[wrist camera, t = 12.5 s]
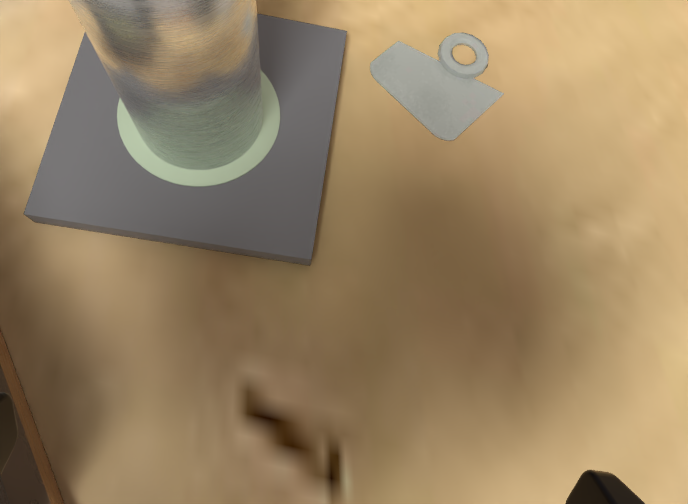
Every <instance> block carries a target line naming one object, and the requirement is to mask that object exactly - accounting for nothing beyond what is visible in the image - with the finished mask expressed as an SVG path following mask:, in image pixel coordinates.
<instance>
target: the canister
mask: <svg viewBox="0 0 688 504" xmlns="http://www.w3.org/2000/svg"><path fill="white" fill-rule="evenodd" d="M69 2H70V4H71V5H72V7H73V9H74V11H75V13H76V15H77V17H78V19H79V21H80V22H81V24H82V26H83V28H84V30H85V32H86V34H87V36H88V38H89V40H90V41H91V43H92V45H93V47H94V49H95V51H96V53H97V55H98V57H99V58H100V60H101V62H102V64H103V66H104V68H105V70H106V72H107V74H108V76H109V77H110V79H111V81H112V83H113V85H114V87H115V89H116V91H117V93H118V94H119V96H120V98H121V100H122V102H123V104H124V106H125V108H126V110H127V112H128V113H129V115H130V117H131V119H132V121H133V123H134V125H135V127H136V129H137V130H138V132H139V134H140V136H141V138H142V140H143V141H144V143H145V144H146V146H147V147H148V148H149V149H150V150H151V151H152V152H153V153H154V154H155V155H156V156H157V157H159V158H160V159H162V160H163V161H165V162H167V163H169V164H171V165H174V166H177V167H180V168H184V169H190V170H209V169H215V168H219V167H222V166H225V165H227V164H230V163H231V162H233V161H235V160H237V159H238V158H240V157H241V156H243V155H244V154H245V153H246V152H247V151H248V150H249V149H250V148H251V146H252V145H253V144H254V142H255V141H256V139H257V137H258V135H259V133H260V130H261V126H262V121H263V107H262V90H261V73H260V56H259V39H258V22H257V5H256V0H69Z"/></svg>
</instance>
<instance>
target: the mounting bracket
mask: <svg viewBox="0 0 688 504" xmlns="http://www.w3.org/2000/svg"><path fill="white" fill-rule="evenodd" d="M457 45H466V46H468V47H470V48H471V49H472V50H473V51H474V52H475V55H476V61H475V62H474V63H472V64H470V65H463V64H460V63H458V62H457V61H456V60H455V59H454V58H453V55H452V49H453V47H455V46H457ZM438 56H439V60H440V61H438V60H436V59H434V58H432V57H430V56H428V55H426V54H424V53H422V52H420V51H418V50H416V49H414V48H412V47H410V46H408V45H406V44H404V43H402V42H400V41H398V42H396V43H395V44H394V45H393V46H391V47H390V48H389V49H387V50H386V51H385V52H384V53H382V54H381V55H380V56H379V57H377V58H376V59H375V60H374V61H372V62H371V65H370V71H371V74H372V76H373V78H374V79H375V80H376V81H377V82H378V83H379V84H380V85H381V86H382V87H383V88H384V89H385V90H386V91H387V92H388V93H389V94H391V95H392V96H393V97H394V98H395V99H396V100H397V101H398V102H399V103H400V104H401V105H402V106H403V107H404V108H405V109H407V110H408V111H409V112H410V113H411V114H412V115H413V116H414V117H415V118H416V119H417V120H418V121H419V122H420V123H421V124H423V125H424V126H425V127H426V128H427V129H428V130H429V131H430V132H431V133H432V134H433V135H435V136H436V137H438V138H440V139H442V140H446V141H451V140H455V139H456V138H457V137H458V136H459V135H460V134H461V133H462V132H463V131H464V130H465V129H466V128H468V127H469V126H470V125H471V124H472V123H473V122H474V121H475V120H476V119H477V118H478V117H479V116H481V115H482V114H483V113H484V112H485V111H486V110H487V109H488V108H489V107H490V106H491V105H492V104H494V103H495V102H496V101H497V100H498V99H499V98H500V97H501V96H502V95H503V94H504V93H502V92H500V91H498V90H496V89H494V88H492V87H490V86H488V85H486V84H484V83H482V82H480V81H478V80H476V79H474V78H475V77H477V76H479V75H480V74H482V73H483V72H484V70H485V69H486V68H487V65H488V56H489V55H488V52H487V49H486V47H485V45H484V44H483V43H482V42H481V40H479V39H478V38H476V37H475V36H473V35H470V34H466V33H454V34H452V35H450V36H448V37H446V38H445V39H444V40H443V41H442V43H441V44H440V45H439V50H438Z"/></svg>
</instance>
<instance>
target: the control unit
mask: <svg viewBox="0 0 688 504" xmlns="http://www.w3.org/2000/svg"><path fill="white" fill-rule="evenodd" d="M0 392H5V393H8V394H9V395H10V396H11V397H12V400H13V405H14V411H15V416H16V422H17V428H18V437H17V441H16V444H15V447H14V449H13V451H12V453H11V455H10V457H9V459H8V461H7V463H6V465H5V467H4V469H3V471H2V473H1V475H0V504H64V502H63V499H62V497H61V494H60V491H59V488H58V486H57V483H56V480H55V477H54V475H53V472H52V469H51V467H50V464H49V461H48V458H47V456H46V453H45V450H44V447H43V445H42V442H41V439H40V436H39V434H38V431H37V428H36V426H35V423H34V420H33V417H32V415H31V412H30V409H29V406H28V404H27V401H26V398H25V395H24V393H23V390H22V387H21V385H20V382H19V379H18V376H17V374H16V371H15V368H14V365H13V363H12V360H11V357H10V354H9V352H8V349H7V346H6V344H5V341H4V338H3V335H2V333H1V330H0Z"/></svg>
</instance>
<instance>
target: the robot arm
mask: <svg viewBox="0 0 688 504" xmlns="http://www.w3.org/2000/svg"><path fill="white" fill-rule="evenodd" d="M17 437H18V428H17V422H16V416H15V411H14V405H13V400H12V397H11V396H10V395H9V394H8V393H5V392H0V475H1V473H2V471H3V469H4V467H5V465H6V463H7V461H8V459H9V457H10V455H11V453H12V451H13V449H14V447H15V444H16V441H17ZM566 504H645V503H644V502H643V501H642V500H641V499H640V498H639V497H638V496H637V495H635V494H634V493H633V492H632V491H631V490H630V489H629V488H628V487H627V486H626V485H625V484H624V483H623V482H622V481H621V480H620V479H619V478H617V477H616V476H615V475H613V474H611V473H609V472H602V471H595V470H587V471H585V472H584V473H583V474H582V475H581V477H580V478H579V480H578V482H577V483H576V485H575V487H574V488H573V490H572V492H571V493H570V495H569V497H568V498H567V500H566Z"/></svg>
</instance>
